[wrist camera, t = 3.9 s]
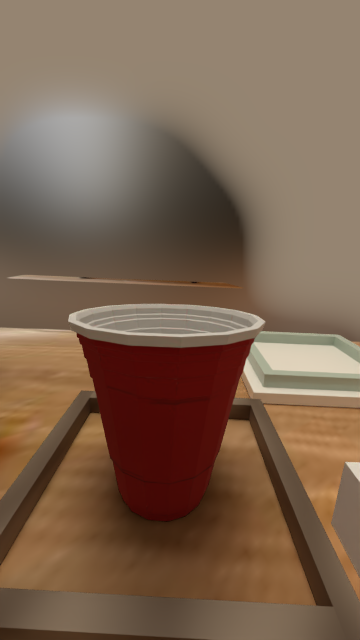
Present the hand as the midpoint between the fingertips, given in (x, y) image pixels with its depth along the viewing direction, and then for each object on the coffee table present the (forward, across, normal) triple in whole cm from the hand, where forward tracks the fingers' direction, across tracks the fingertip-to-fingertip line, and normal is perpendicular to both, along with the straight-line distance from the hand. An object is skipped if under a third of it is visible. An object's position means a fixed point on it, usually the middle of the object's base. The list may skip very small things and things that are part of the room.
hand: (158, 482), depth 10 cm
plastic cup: (+7, 0, -7) cm, 10 cm away
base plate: (+28, +18, -7) cm, 33 cm away
